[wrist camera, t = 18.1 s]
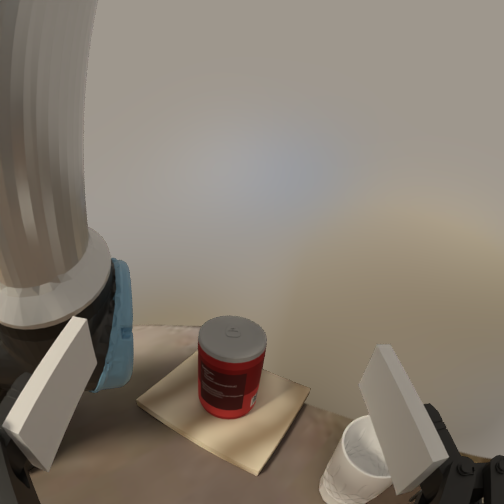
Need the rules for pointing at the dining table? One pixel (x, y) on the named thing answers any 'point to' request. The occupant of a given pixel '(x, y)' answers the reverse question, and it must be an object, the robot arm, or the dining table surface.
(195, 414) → the cutting board
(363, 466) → the white cup
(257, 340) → the canned food
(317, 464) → the dining table surface
